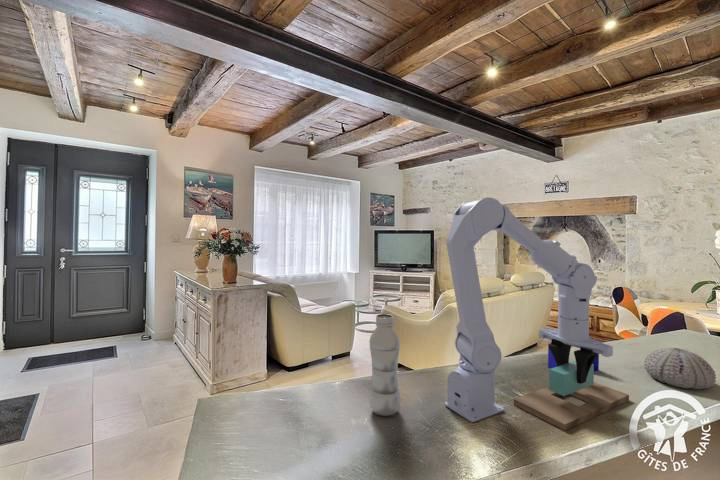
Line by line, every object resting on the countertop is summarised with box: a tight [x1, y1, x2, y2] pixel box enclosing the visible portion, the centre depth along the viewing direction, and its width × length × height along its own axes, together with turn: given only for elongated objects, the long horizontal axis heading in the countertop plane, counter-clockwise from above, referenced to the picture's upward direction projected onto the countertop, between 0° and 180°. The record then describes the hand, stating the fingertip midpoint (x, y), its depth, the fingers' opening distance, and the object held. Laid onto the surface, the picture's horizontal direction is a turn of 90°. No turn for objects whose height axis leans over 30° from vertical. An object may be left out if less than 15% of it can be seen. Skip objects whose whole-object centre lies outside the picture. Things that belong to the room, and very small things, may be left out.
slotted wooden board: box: [513, 381, 630, 431], centre depth 75 cm, size 25×11×6 cm, turn 119°
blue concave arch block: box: [547, 347, 600, 372], centre depth 91 cm, size 12×4×6 cm, turn 92°
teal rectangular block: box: [548, 360, 595, 397], centre depth 74 cm, size 11×3×4 cm, turn 119°
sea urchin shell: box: [643, 347, 717, 390], centre depth 85 cm, size 13×14×8 cm
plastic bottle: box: [369, 313, 401, 417], centre depth 71 cm, size 6×7×20 cm
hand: (572, 378), depth 74 cm, fingers closed on teal rectangular block, 3 cm apart
